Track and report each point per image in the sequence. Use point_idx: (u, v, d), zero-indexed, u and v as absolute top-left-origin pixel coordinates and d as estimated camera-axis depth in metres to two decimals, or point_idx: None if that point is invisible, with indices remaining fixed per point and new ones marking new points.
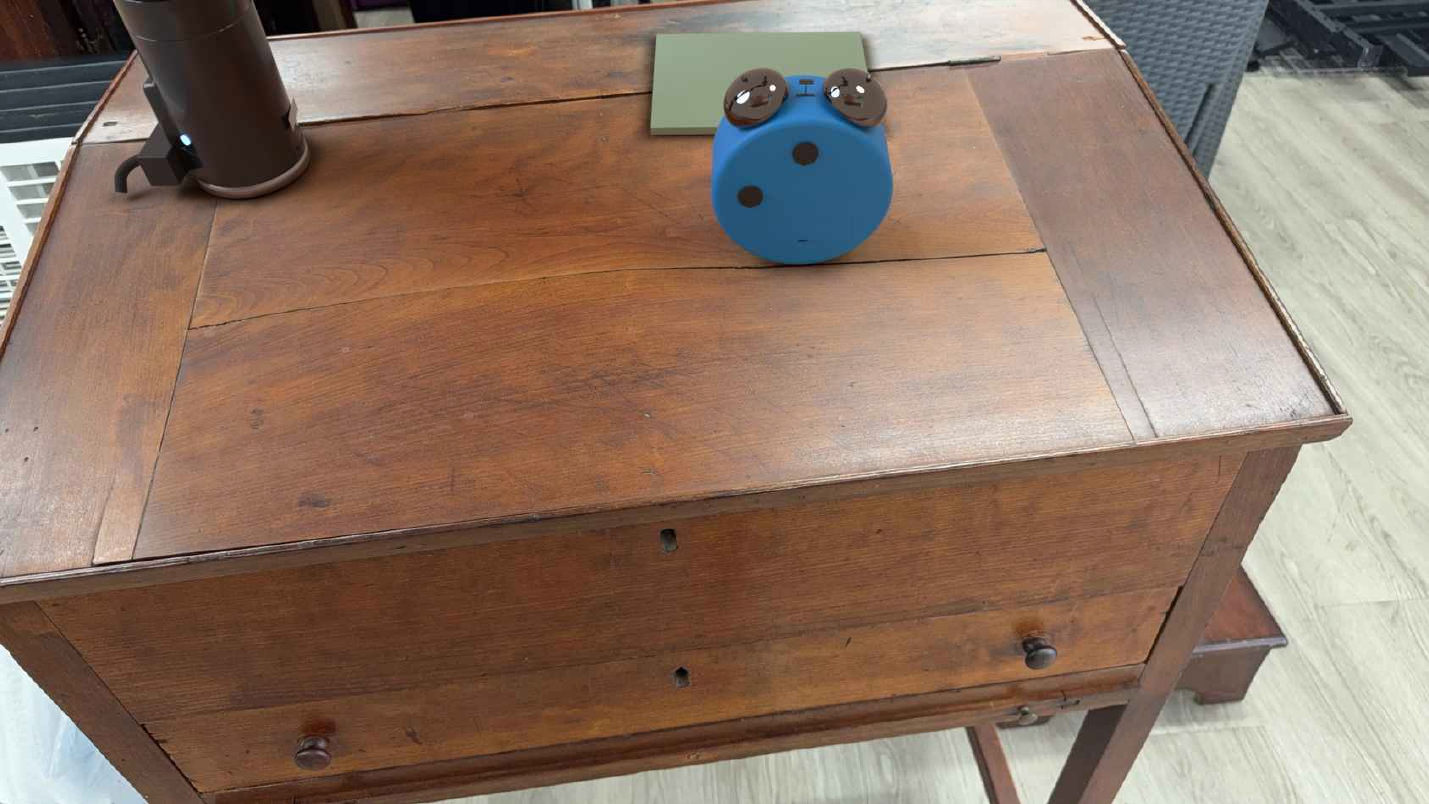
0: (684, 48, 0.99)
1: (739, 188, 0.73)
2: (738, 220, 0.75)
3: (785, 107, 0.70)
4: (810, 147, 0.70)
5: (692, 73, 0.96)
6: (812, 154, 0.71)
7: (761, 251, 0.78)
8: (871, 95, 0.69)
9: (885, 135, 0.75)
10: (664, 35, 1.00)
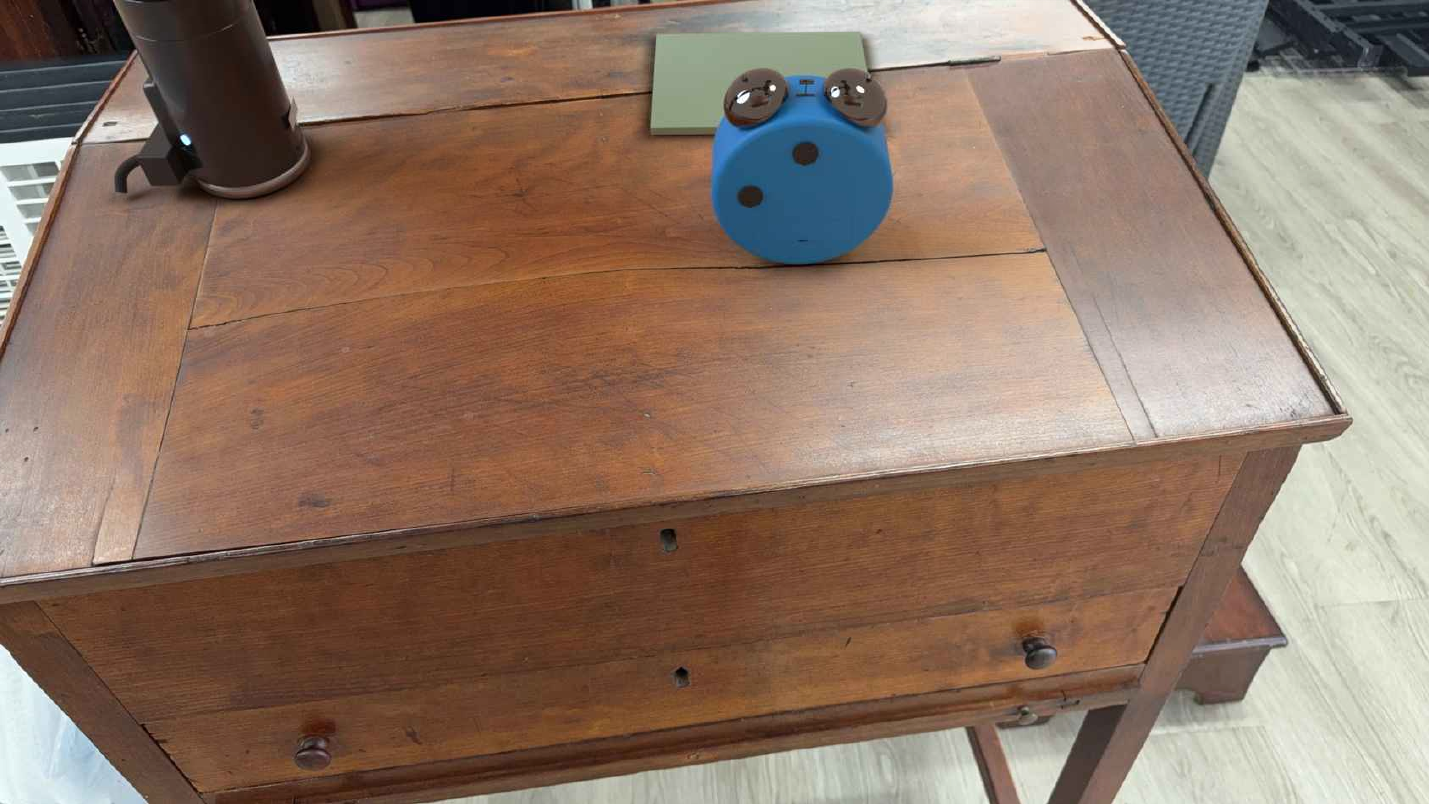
0: (684, 48, 0.99)
1: (739, 188, 0.73)
2: (738, 220, 0.75)
3: (785, 107, 0.70)
4: (810, 147, 0.70)
5: (692, 73, 0.96)
6: (812, 154, 0.71)
7: (761, 251, 0.78)
8: (871, 95, 0.69)
9: (885, 135, 0.75)
10: (664, 35, 1.00)
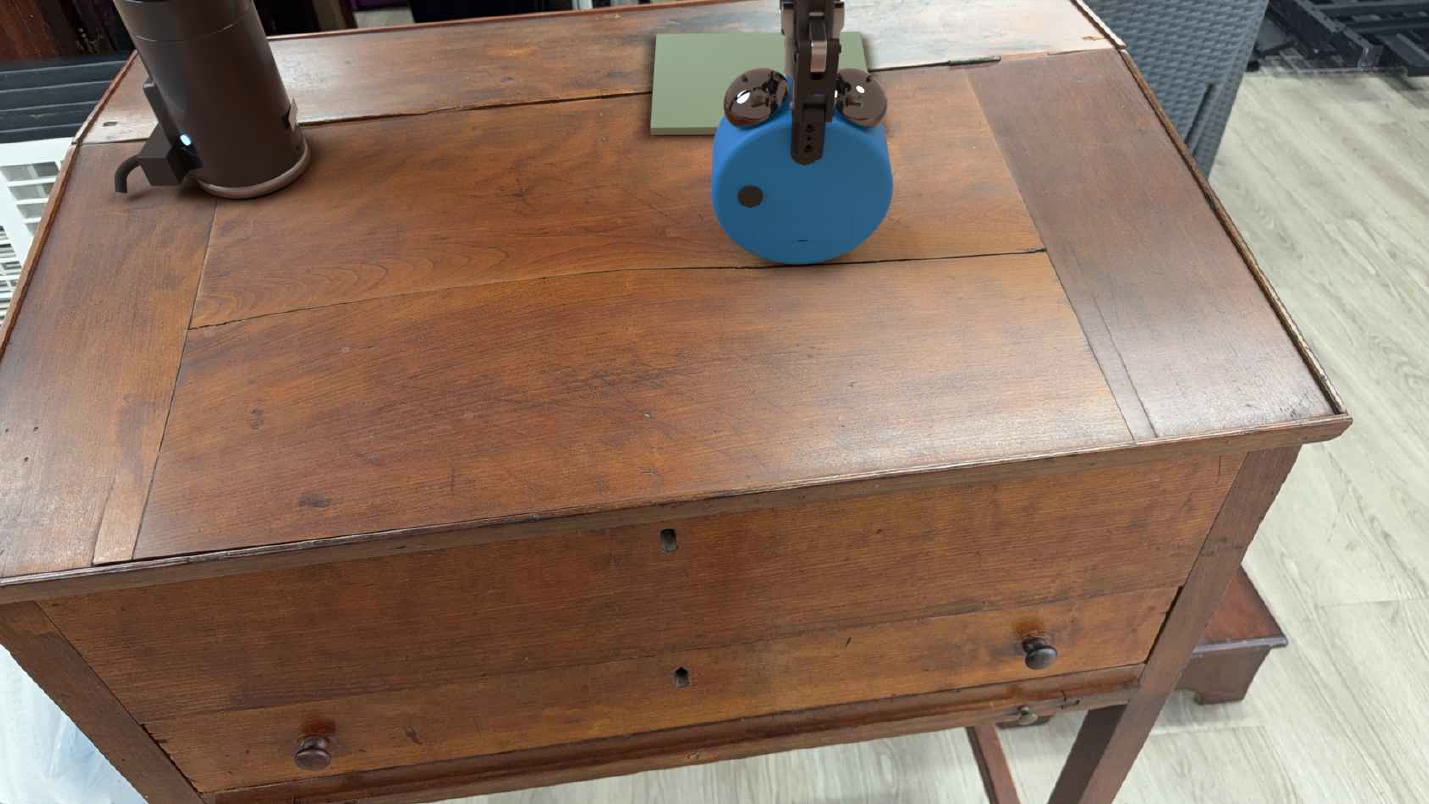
0: (684, 48, 0.99)
1: (739, 188, 0.73)
2: (738, 220, 0.75)
3: (785, 107, 0.70)
4: None
5: (692, 73, 0.96)
6: None
7: (761, 251, 0.78)
8: (871, 95, 0.69)
9: (885, 135, 0.75)
10: (664, 35, 1.00)
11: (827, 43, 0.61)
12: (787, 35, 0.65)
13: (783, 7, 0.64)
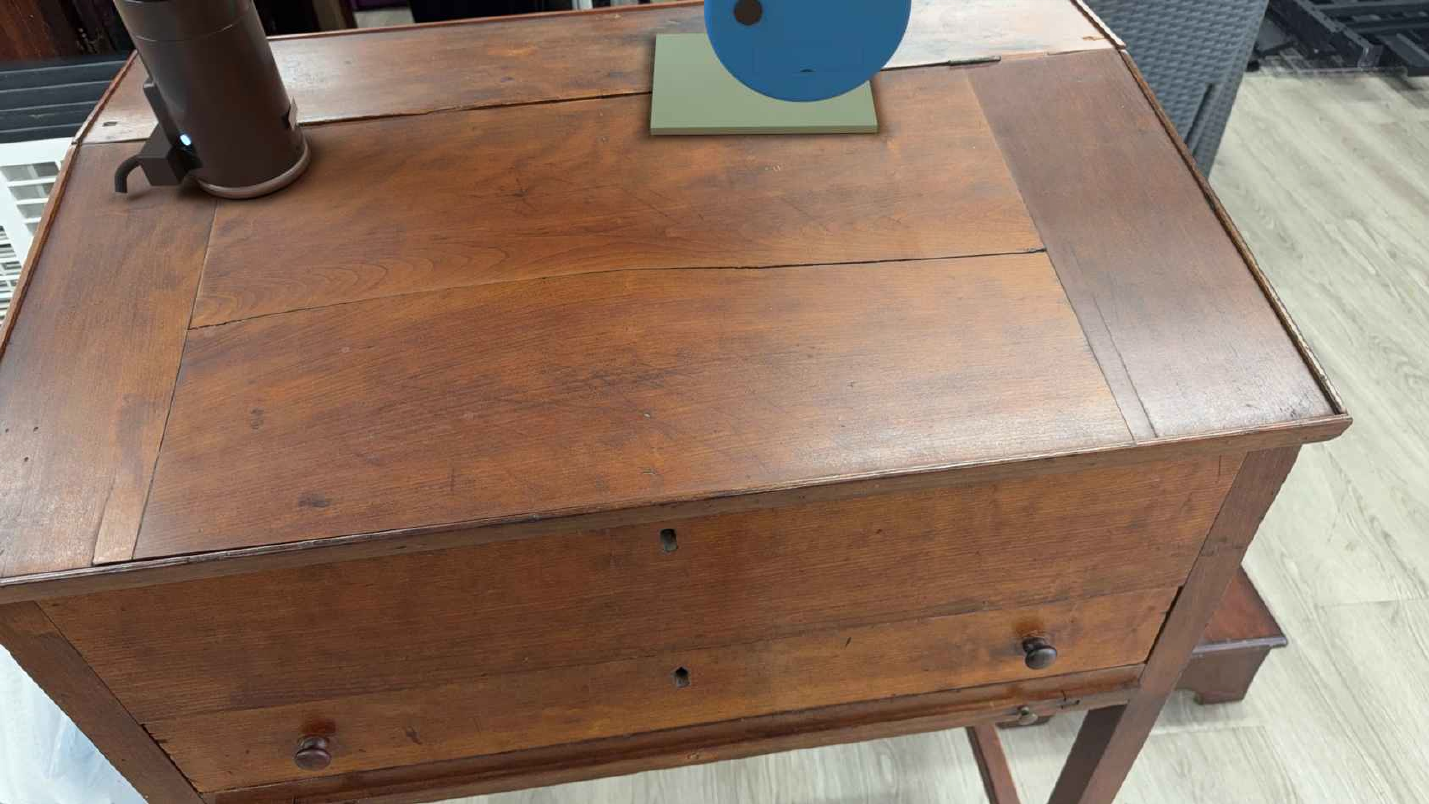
0: (684, 48, 0.99)
1: (736, 0, 0.64)
2: (734, 42, 0.66)
3: None
4: None
5: (692, 73, 0.96)
6: None
7: (760, 84, 0.68)
8: None
9: None
10: (664, 35, 1.00)
11: None
12: None
13: None
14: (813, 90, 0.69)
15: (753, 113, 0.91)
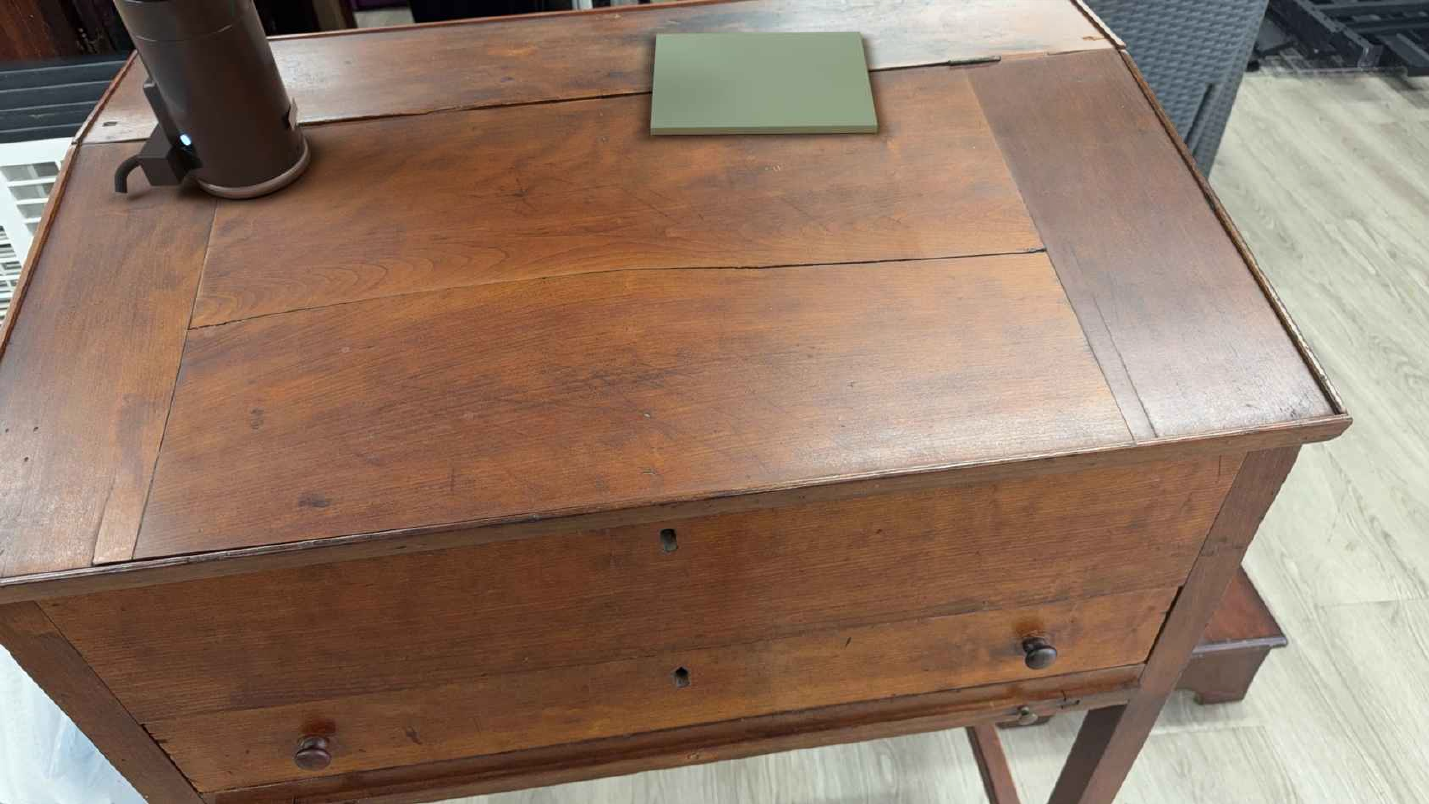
0: (684, 48, 0.99)
1: None
2: None
3: None
4: None
5: (692, 73, 0.96)
6: None
7: None
8: None
9: None
10: (664, 35, 1.00)
11: None
12: None
13: None
14: None
15: (753, 113, 0.91)
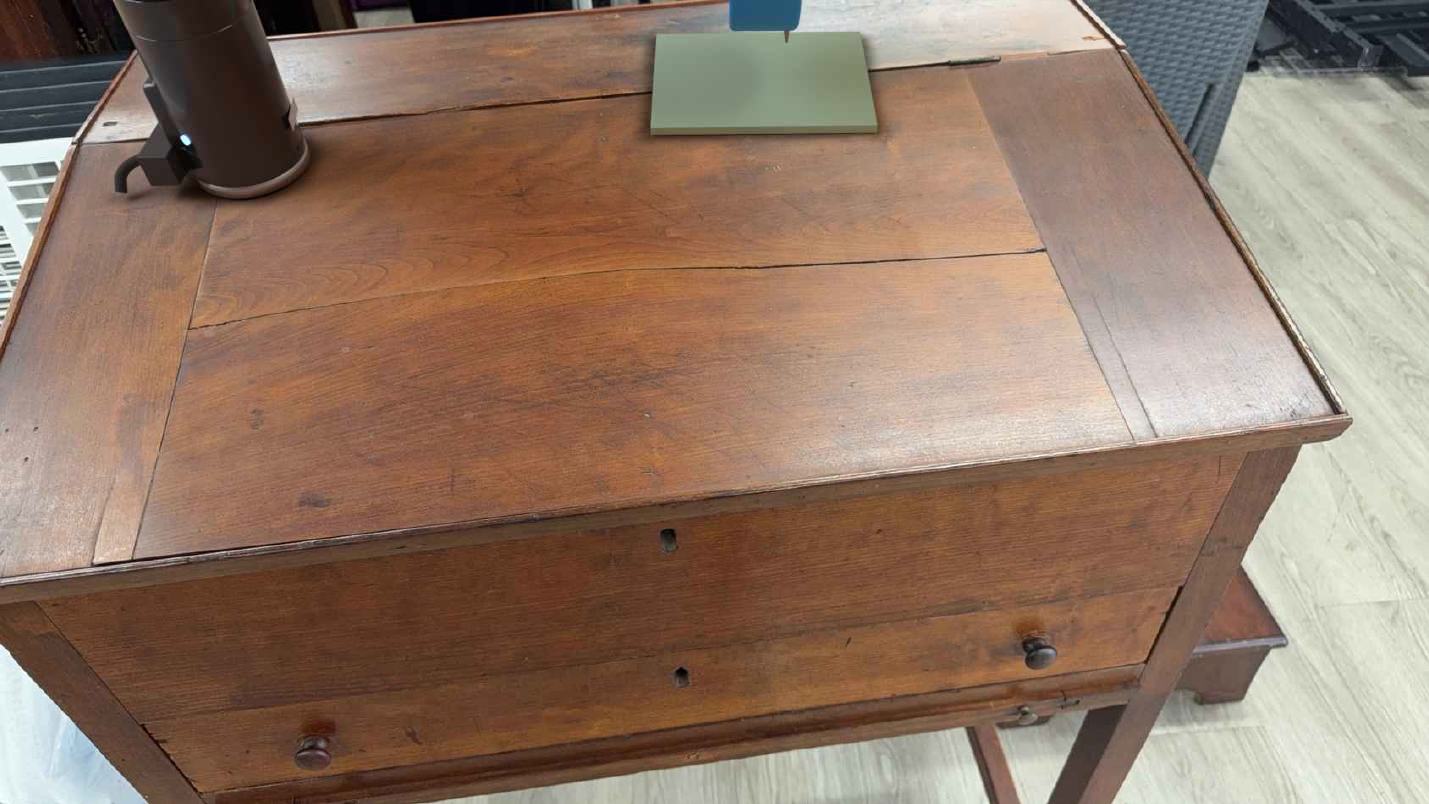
0: (684, 48, 0.99)
1: None
2: None
3: None
4: None
5: (692, 73, 0.96)
6: None
7: None
8: None
9: None
10: (664, 35, 1.00)
11: None
12: None
13: None
14: None
15: (753, 113, 0.91)
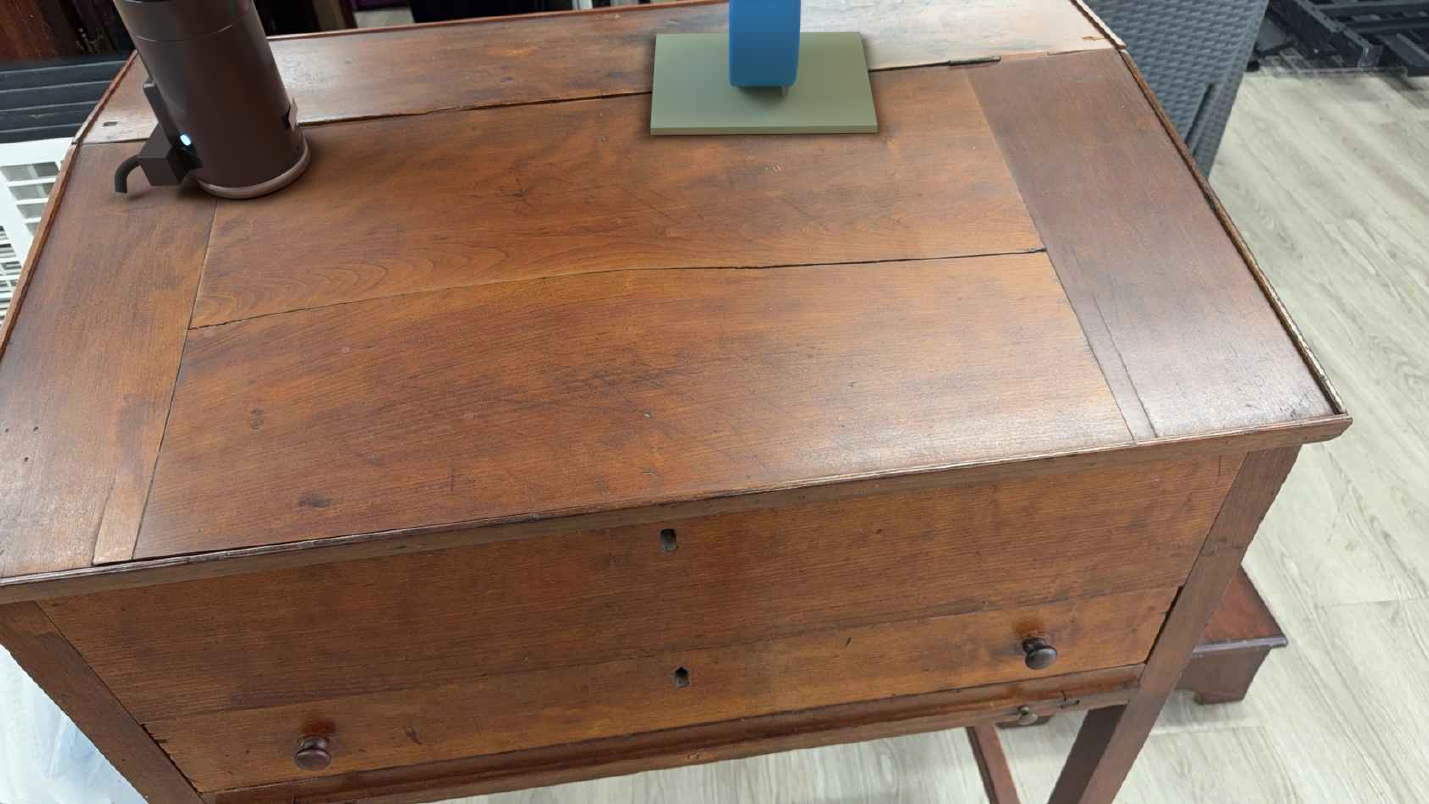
0: (684, 48, 0.99)
1: None
2: None
3: None
4: None
5: (692, 73, 0.96)
6: None
7: None
8: None
9: (788, 24, 0.85)
10: (664, 35, 1.00)
11: None
12: None
13: None
14: None
15: (753, 113, 0.91)
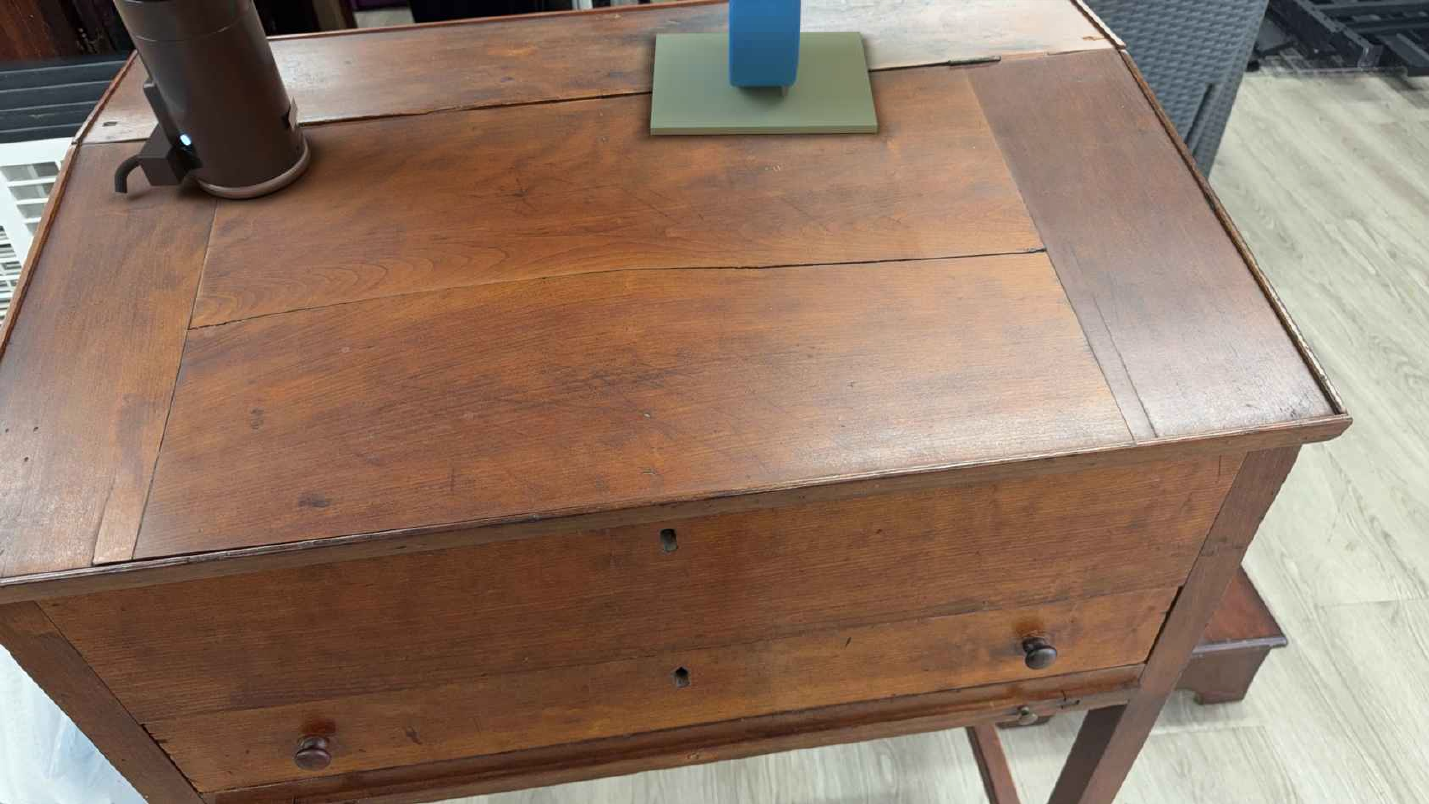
0: (684, 48, 0.99)
1: None
2: None
3: None
4: None
5: (692, 73, 0.96)
6: None
7: None
8: None
9: (788, 24, 0.85)
10: (664, 35, 1.00)
11: None
12: None
13: None
14: None
15: (753, 113, 0.91)
